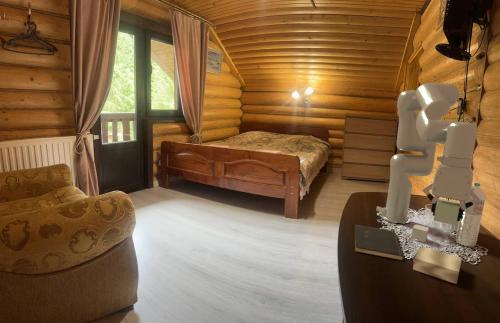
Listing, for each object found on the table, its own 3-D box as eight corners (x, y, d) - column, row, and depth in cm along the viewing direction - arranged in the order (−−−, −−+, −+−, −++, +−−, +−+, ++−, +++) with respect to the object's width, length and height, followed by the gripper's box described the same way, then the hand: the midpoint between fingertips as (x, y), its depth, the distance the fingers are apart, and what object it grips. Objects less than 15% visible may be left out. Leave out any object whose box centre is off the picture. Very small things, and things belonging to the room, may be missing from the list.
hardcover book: (354, 252, 110) (354, 246, 110) (354, 229, 132) (355, 224, 131) (402, 262, 105) (403, 255, 105) (394, 236, 127) (395, 231, 126)
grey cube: (411, 239, 124) (412, 227, 123) (413, 235, 127) (415, 224, 127) (424, 243, 121) (426, 231, 120) (427, 239, 124) (429, 227, 124)
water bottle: (472, 242, 124) (484, 182, 119) (478, 249, 118) (491, 186, 113) (452, 238, 126) (464, 180, 122) (457, 245, 120) (470, 184, 115)
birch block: (412, 269, 100) (414, 258, 99) (419, 256, 109) (421, 246, 108) (456, 284, 92) (458, 272, 92) (459, 268, 102) (461, 257, 101)
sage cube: (433, 220, 98) (436, 202, 96) (436, 215, 102) (439, 198, 101) (455, 225, 94) (459, 207, 93) (457, 220, 99) (460, 202, 98)
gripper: (422, 159, 97) (414, 213, 100) (491, 168, 87) (479, 228, 90) (426, 157, 103) (418, 208, 106) (490, 165, 92) (479, 221, 96)
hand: (446, 217), depth 98 cm, fingers closed on sage cube, 6 cm apart
